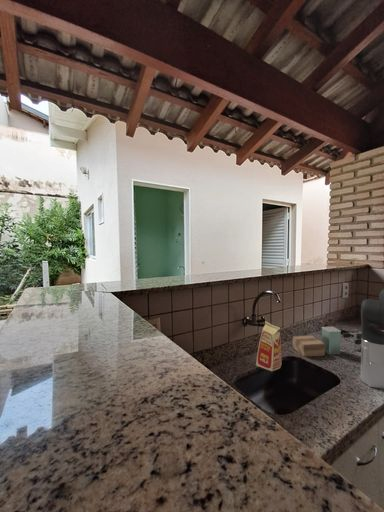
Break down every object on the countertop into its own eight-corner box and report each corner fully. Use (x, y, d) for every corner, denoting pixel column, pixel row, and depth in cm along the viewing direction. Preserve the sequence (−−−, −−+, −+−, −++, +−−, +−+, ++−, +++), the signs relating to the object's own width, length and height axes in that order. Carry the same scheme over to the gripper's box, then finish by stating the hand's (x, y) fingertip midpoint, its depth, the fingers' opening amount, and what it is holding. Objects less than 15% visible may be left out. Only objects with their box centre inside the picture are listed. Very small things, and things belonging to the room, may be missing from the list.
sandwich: (324, 355, 119) (324, 343, 118) (303, 356, 118) (303, 344, 117) (311, 346, 130) (312, 335, 129) (292, 347, 129) (292, 336, 128)
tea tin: (340, 354, 120) (341, 330, 120) (328, 354, 120) (329, 331, 119) (332, 348, 126) (332, 326, 126) (321, 349, 126) (321, 326, 125)
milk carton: (256, 365, 110) (256, 322, 109) (266, 358, 116) (266, 318, 115) (274, 372, 103) (274, 327, 102) (284, 365, 109) (284, 322, 108)
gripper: (367, 326, 132) (339, 326, 130) (390, 335, 118) (359, 336, 116) (366, 339, 132) (339, 340, 131) (390, 350, 118) (359, 351, 117)
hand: (348, 338), depth 124 cm, fingers open, 8 cm apart
